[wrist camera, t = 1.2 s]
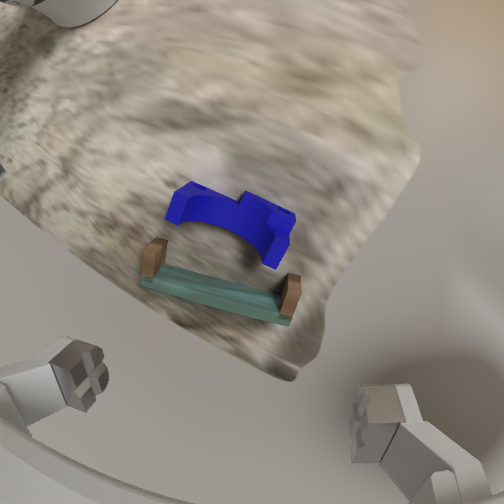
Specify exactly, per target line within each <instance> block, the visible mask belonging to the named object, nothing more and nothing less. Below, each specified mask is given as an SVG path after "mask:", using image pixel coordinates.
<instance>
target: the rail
mask: <svg viewBox="0 0 504 504" xmlns="http://www.w3.org/2000/svg"><path fill="white" fill-rule="evenodd" d="M167 242H168V240H165V239H161V238H157V237H156V238H155V239H154V240H153V241H152V242H151V243H150V244H149V245H148V246H147V247H146V248H145V249H144V250H143V260H142V271H141V286H144V287H147V288H150V289H153V290H157V291H160V292H163V293H166V294H170V295H173V296H176V297H180V298H183V299H186V300H190V301H193V302H197V303H200V304H204V305H207V306H211V307H215V308H218V309H222V310H225V311H229V312H233V313H237V314H240V315H244V316H248V317H252V318H256V319H260V320H264V321H268V322H272V323H276V324H280V325H284V326H288V327H289V324H290V322H291V319H292V317H293V314H294V311H295V309H296V306H297V303H298V301H299V298H300V295H301V278H300V276H299V275H295V274H291V273H288V275H287V278H286V281H285V284H284V287H283V290H282V293H281V295H278V294H274V293H270V292H266V291H262V290H258V289H255V288H251V287H247V286H243V285H239V284H236V283H232V282H228V281H225V280H221V279H217V278H214V277H210V276H206V275H203V274H199V273H196V272H192V271H189V270H185V269H181V268H178V267H174V266H171V265H167V264H165V256H166V249H167Z"/></svg>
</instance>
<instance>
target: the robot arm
mask: <svg viewBox="0 0 504 504" xmlns="http://www.w3.org/2000/svg"><path fill="white" fill-rule="evenodd" d="M116 1H117V0H0V2H4V3H5V4H8V5H13V6H19V7H31V8H33V9H35V10H37V11H39V12H41V13H42V14H44V15H46V16H47V17H48V18H50V19H51V20H52V21H53V22H54V23H55V24H56V25H58V26H61V27H66V28H69V27H76V26H80V25H83V24H85V23H88V22H90V21H91V20H93V19H95V18H97V17H98V16H100V15H101V14H102V13H104V12H105V11H106V10H107V9H108V8H110V7H111V6H112V5H113V4H114V3H115V2H116ZM103 359H104V355H103V351H102V349H101V348H100V347H98V346H95V345H92V344H89V343H85V342H83V341H79V340H75V339H73V338H70V337H63V338H61V339H60V340H59V341H58V342H57V343H55V344H54V345H53V346H52V347H51V348H49V349H48V350H47V351H46V352H45V353H43V354H42V355H41V356H40V357H39V358H35V357H34V358H31V359H28V360H24V361H21V362H17V363H14V364H10V365H6V366H3V367H0V504H193V503H189V502H185V501H182V500H178V499H174V498H170V497H167V496H164V495H161V494H157V493H154V492H151V491H148V490H145V489H142V488H139V487H136V486H134V485H131V484H128V483H125V482H123V481H120V480H117V479H115V478H112V477H110V476H108V475H105V474H103V473H101V472H98V471H96V470H94V469H92V468H89V467H87V466H85V465H83V464H81V463H79V462H76V461H75V460H73V459H70V458H68V457H67V456H65V455H63V454H61V453H59V452H57V451H55V450H53V449H51V448H50V447H48V446H46V445H44V444H43V443H41V442H39V441H37V440H35V439H34V438H32V435H31V433H30V431H29V430H28V428H27V426H29V425H31V424H33V423H35V422H37V421H39V420H41V419H43V418H45V417H47V416H49V415H51V414H53V413H55V412H57V411H59V410H61V409H63V408H65V407H67V405H68V406H70V407H73V408H75V409H78V410H81V411H83V412H87V411H88V410H89V408H90V407H91V406H92V405H93V403H94V402H95V401H96V396H95V395H97V394H100V393H102V392H103V391H104V390H105V388H106V387H107V384H108V381H109V372H108V369H107V367H106V365H105V364H104V363H103V362H102V361H103ZM349 428H350V435H351V436H352V437H353V441H352V444H351V459H352V463H380V466H381V467H382V468H383V469H384V471H385V472H386V473H387V474H388V476H389V477H390V478H391V479H392V481H393V482H394V483H395V484H396V486H397V487H398V488H399V489H400V490H401V491H402V493H403V494H404V495H405V497H406V498H407V499H408V500H409V501H410V502H409V504H504V491H503V492H500V493H498V494H494V495H492V494H491V491H490V488H489V485H488V482H487V479H486V476H485V473H484V470H483V467H482V465H481V462H479V461H478V460H477V459H475V458H474V457H473V456H472V455H470V454H469V453H468V452H466V451H465V450H464V449H462V448H461V447H460V446H459V445H457V444H456V443H454V442H453V441H452V440H451V439H449V438H448V437H447V436H445V435H444V434H443V433H442V432H440V431H439V430H438V429H437V428H435V427H434V426H433V425H431V424H430V423H429V422H423V420H422V417H421V414H420V411H419V408H418V405H417V402H416V399H415V396H414V393H413V390H412V388H411V386H410V385H409V384H394V385H360V387H359V388H358V392H357V403H356V404H354V405H353V408H352V412H351V416H350V426H349Z"/></svg>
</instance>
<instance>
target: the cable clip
mask: <svg viewBox="0 0 504 504" xmlns="http://www.w3.org/2000/svg"><path fill="white" fill-rule="evenodd" d="M165 220H167V221H170V222H172V223H174V224H176V225H179V224H181V223H183V222H187V221H201V222H207V223H211V224H214V225H218V226H220V227H223V228H225V229H228V230H230V231H232V232H234V233H236V234H237V235H239V236H241V237H242V238H244V239H245V240H246V241H248V242H249V243H250V244H251V245H252V246H254V248H255V249H256V250H257V251H258V252H259V254H260V256H261V258H262V264H264V265H266V266H269V267H271V268H273V269H275V270H276V269H277V267H278V265H279V263H280V261H281V259H282V258H283V256H284V254H285V252H286V250H287V248H288V246H289V245H290V236H289V234H290V232H291V230H292V228H293V226H294V224H295V222H296V216H295V213H293V212H290V211H288V210H286V209H284V208H282V207H280V206H278V205H276V204H274V203H271V202H269V201H267V200H265V199H263V198H261V197H258V196H256V195H254V194H252V193H250V192H248V191H245V193H244V195H243V197H242V199H241V201H240V202H238V201H236V200H233V199H231V198H229V197H227V196H224V195H222V194H220V193H218V192H216V191H213V190H211V189H209V188H206V187H204V186H202V185H200V184H197V183H195V182H193V181H191V182H189V183H188V184H186V185H184V186H183V187H181V188H180V189H178V190H177V191H175V192H174V194H173V197H172V200H171V203H170V205H169V208H168V211H167V214H166V217H165Z"/></svg>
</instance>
